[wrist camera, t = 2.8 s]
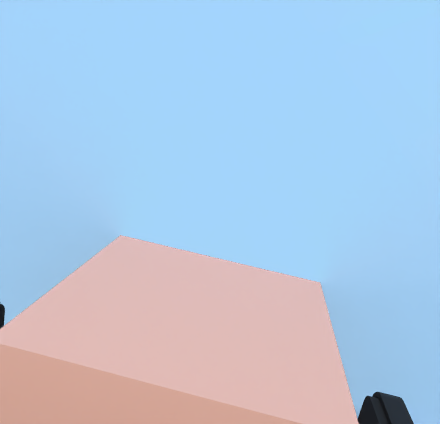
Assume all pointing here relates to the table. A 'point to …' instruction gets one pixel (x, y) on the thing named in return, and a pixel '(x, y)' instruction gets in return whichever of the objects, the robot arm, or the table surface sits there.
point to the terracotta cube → (173, 345)
